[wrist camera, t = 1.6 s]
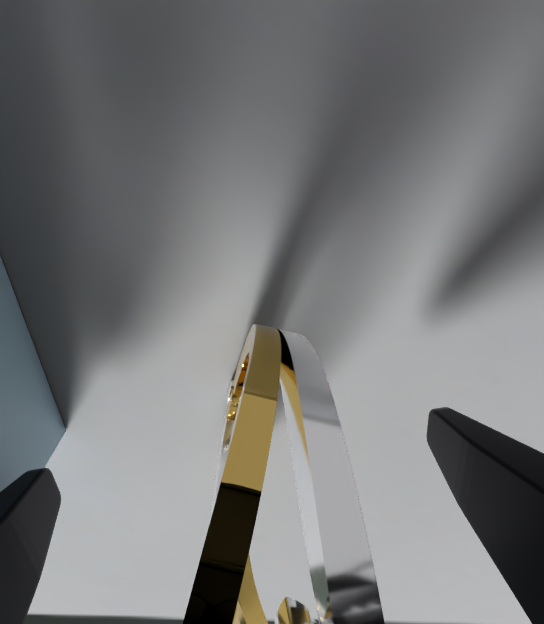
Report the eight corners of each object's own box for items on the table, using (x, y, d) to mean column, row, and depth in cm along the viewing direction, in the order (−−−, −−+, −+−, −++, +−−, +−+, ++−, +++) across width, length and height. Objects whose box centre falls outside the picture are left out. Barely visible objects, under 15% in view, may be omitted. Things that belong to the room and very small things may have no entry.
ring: (213, 269, 9) (176, 649, 2) (327, 295, 10) (613, 649, 3) (169, 473, 12) (77, 995, 4) (264, 483, 12) (325, 948, 5)
